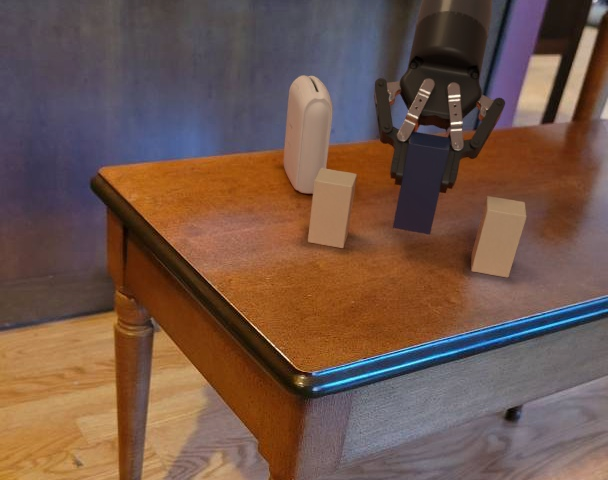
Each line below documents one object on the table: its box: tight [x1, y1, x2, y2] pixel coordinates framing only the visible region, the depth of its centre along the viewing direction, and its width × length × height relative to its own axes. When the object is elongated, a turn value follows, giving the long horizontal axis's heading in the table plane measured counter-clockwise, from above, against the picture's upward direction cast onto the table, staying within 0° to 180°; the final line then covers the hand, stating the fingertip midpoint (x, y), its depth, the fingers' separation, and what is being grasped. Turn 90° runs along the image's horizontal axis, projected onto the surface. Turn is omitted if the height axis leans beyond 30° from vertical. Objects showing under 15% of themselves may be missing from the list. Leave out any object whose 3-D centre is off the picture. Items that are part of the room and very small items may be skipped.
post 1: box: [307, 168, 358, 249], centre depth 80 cm, size 4×4×7 cm
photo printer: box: [283, 75, 334, 195], centre depth 92 cm, size 10×4×12 cm, turn 11°
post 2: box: [470, 195, 527, 279], centre depth 79 cm, size 4×4×7 cm
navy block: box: [392, 131, 450, 235], centre depth 77 cm, size 4×4×9 cm
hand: (421, 185), depth 75 cm, fingers closed on navy block, 4 cm apart
